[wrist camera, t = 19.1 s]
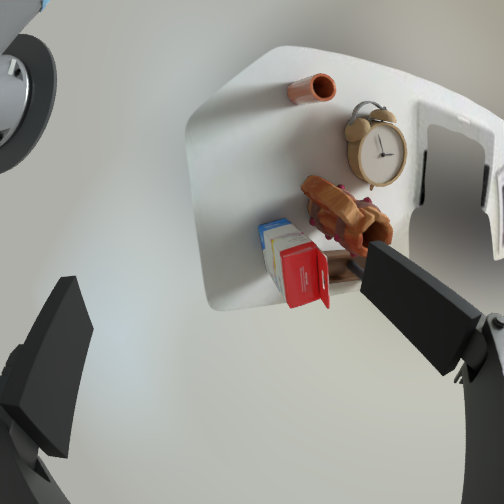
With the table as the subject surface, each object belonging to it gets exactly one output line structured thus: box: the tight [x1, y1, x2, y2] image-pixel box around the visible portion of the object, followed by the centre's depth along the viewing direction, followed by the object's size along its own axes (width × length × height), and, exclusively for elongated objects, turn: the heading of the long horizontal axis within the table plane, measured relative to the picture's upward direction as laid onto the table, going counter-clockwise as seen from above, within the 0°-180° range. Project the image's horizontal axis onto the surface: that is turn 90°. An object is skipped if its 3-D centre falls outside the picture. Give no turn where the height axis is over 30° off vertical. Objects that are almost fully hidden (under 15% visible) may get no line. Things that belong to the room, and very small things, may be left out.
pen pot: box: [287, 73, 336, 105], centre depth 35 cm, size 4×4×8 cm
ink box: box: [258, 218, 330, 309], centre depth 41 cm, size 8×5×15 cm, turn 11°
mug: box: [300, 175, 393, 258], centre depth 39 cm, size 15×8×15 cm, turn 50°
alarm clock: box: [345, 101, 407, 191], centre depth 42 cm, size 11×5×15 cm
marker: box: [346, 260, 364, 281], centre depth 47 cm, size 2×2×13 cm
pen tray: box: [322, 250, 366, 284], centre depth 52 cm, size 14×6×2 cm, turn 88°
